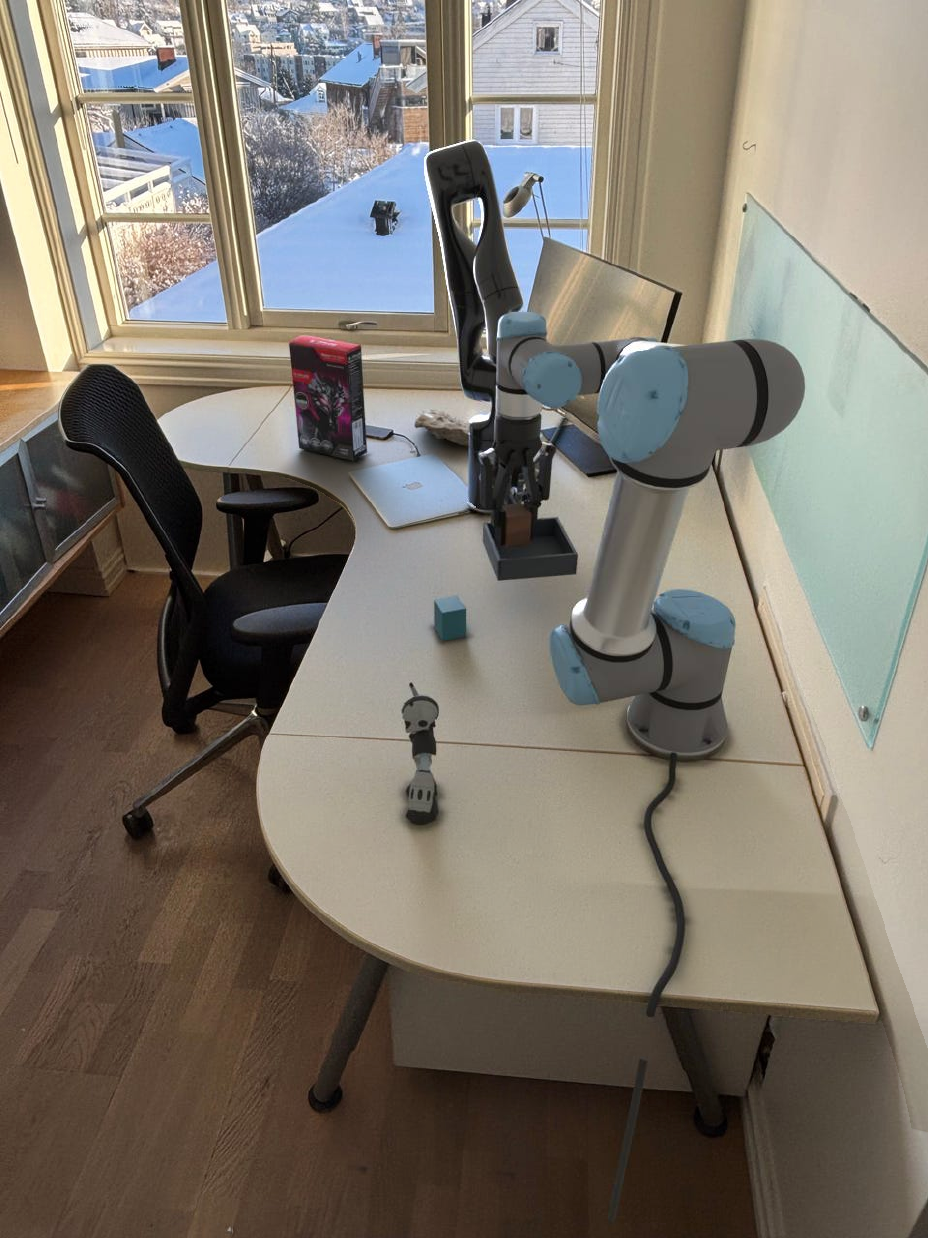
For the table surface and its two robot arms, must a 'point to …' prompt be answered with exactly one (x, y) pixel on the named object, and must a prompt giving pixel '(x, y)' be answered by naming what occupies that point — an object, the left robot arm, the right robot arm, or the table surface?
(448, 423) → the stone
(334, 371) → the graphics card box
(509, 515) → the walnut block
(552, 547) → the tray
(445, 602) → the teal block
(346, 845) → the table surface
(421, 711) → the robot
